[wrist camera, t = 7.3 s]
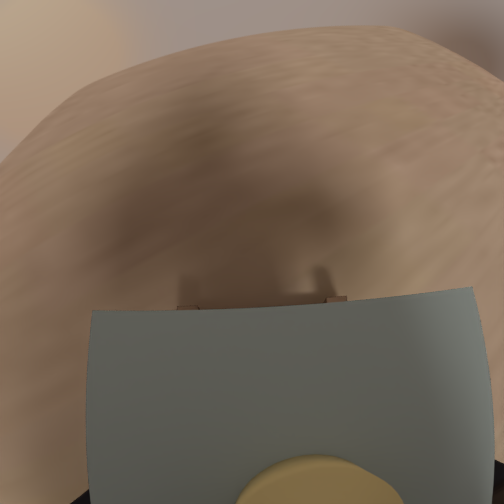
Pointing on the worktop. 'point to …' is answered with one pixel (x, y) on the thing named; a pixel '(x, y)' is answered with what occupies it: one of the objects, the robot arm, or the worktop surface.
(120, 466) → the block
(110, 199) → the worktop surface
